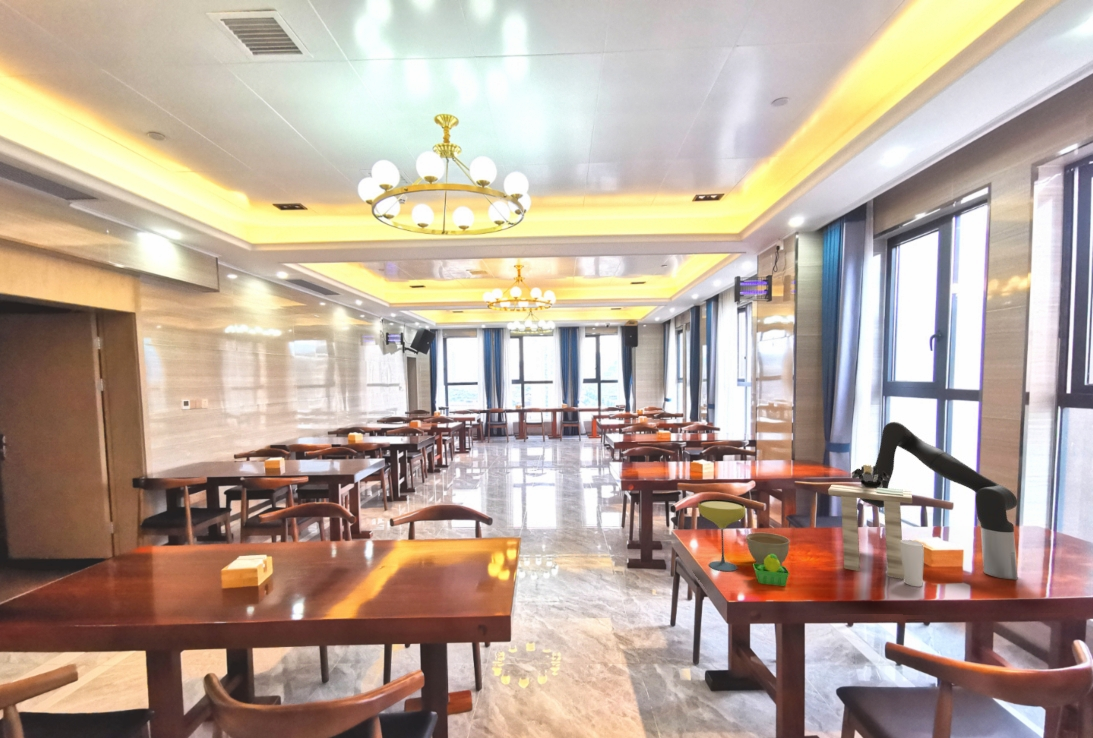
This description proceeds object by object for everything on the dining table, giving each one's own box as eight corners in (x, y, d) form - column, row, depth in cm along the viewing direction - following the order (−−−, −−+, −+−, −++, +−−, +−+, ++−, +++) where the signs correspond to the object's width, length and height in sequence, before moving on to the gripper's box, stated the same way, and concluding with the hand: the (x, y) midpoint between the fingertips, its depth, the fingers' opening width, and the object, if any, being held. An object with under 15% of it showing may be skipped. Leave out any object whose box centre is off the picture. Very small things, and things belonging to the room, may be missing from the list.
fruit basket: (785, 579, 174) (784, 549, 175) (791, 589, 166) (789, 557, 166) (752, 576, 177) (751, 546, 178) (756, 586, 169) (755, 554, 169)
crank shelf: (835, 562, 192) (831, 483, 194) (915, 576, 176) (910, 490, 178) (831, 572, 180) (828, 488, 182) (917, 589, 165) (912, 496, 167)
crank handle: (865, 472, 194) (865, 459, 194) (874, 473, 192) (873, 459, 192) (863, 480, 176) (862, 465, 176) (872, 481, 174) (871, 466, 175)
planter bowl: (780, 558, 197) (779, 532, 197) (797, 573, 181) (796, 544, 181) (741, 557, 198) (740, 531, 199) (754, 571, 182) (753, 543, 183)
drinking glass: (902, 579, 174) (900, 538, 175) (925, 583, 169) (923, 542, 170) (901, 585, 169) (899, 543, 169) (925, 589, 164) (923, 546, 165)
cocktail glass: (700, 572, 182) (698, 507, 184) (699, 557, 199) (697, 498, 201) (749, 577, 177) (747, 510, 178) (744, 561, 194) (742, 500, 195)
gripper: (852, 474, 206) (848, 458, 195) (891, 476, 198) (890, 460, 186) (852, 490, 203) (848, 475, 191) (892, 493, 195) (891, 478, 183)
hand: (869, 468), depth 189 cm, fingers closed on crank handle, 2 cm apart
